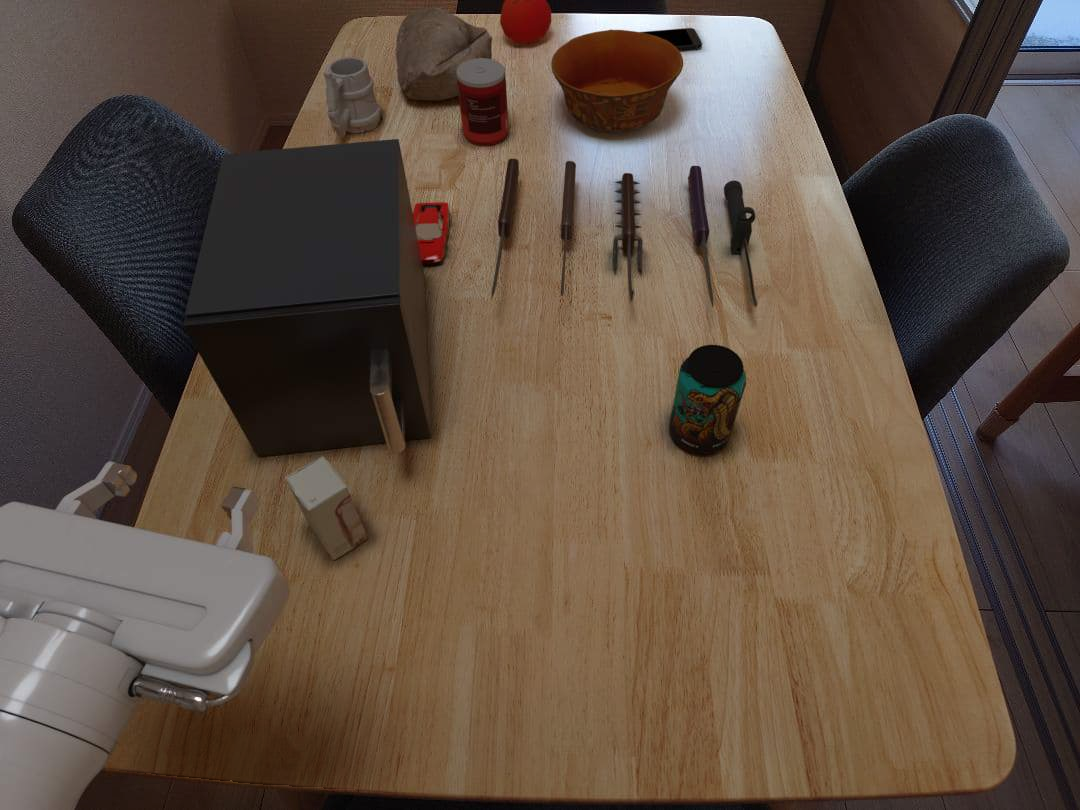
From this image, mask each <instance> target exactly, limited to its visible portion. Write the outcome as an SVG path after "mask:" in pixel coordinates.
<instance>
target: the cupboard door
mask: <svg viewBox="0 0 1080 810" xmlns="http://www.w3.org/2000/svg"><path fill="white" fill-rule="evenodd" d="M183 328H184V329H185V331H186V333H187V335H188V337H189V339H190V341H191V342H192V343H193V346H194V347H195V349H196V351H197V353H198V354H199V356H200V358H201V360H202V362H203V363H204V365H205V366H206V368H207V370H208V372H209V374H210V376H211V377H212V379H213V381H214V382H215V385H216V386H217V388H218V390H219V392H220V393H221V395H222V397H223V399H224V401H225V402H226V404H227V405H228V407H229V409H230V411H231V413H232V415H233V417H234V418H235V420H236V422H237V423H238V425H239V427H240V429H241V431H242V432H243V435H244V436H245V438H246V439H247V442H248V443H249V445H250V446H251V448H252V450H253V451H254V453H255V455H256V457H257V458H259V457H267V456H276V455H284V454H285V455H286V454H295V453H303V452H313V451H321V450H333V449H343V448H349V447H359V446H367V445H368V446H369V445H375V444H377V445H379V444H385V443H386V446H387V449H388V451H389V452H390V453H391V454H394V455H397V454H401V453H402V452H404V451H405V448H406V441H413V440H424V439H431V438H432V429H431V430H430V426H429V421H428V417H427V413H426V408H425V404H424V400H423V395H422V391H421V387H420V382H419V378H418V374H417V370H416V365H415V361H414V357H413V352H412V348H411V344H410V339H409V335H408V331H407V326H406V322H405V318H404V313H403V309H402V305H401V300H400V297H392V298H382V299H372V300H362V301H352V302H342V303H332V304H322V305H312V306H302V307H292V308H282V309H271V310H261V311H251V312H241V313H231V314H221V315H211V316H201V317H191V318H186V317H184V319H183Z"/></svg>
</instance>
